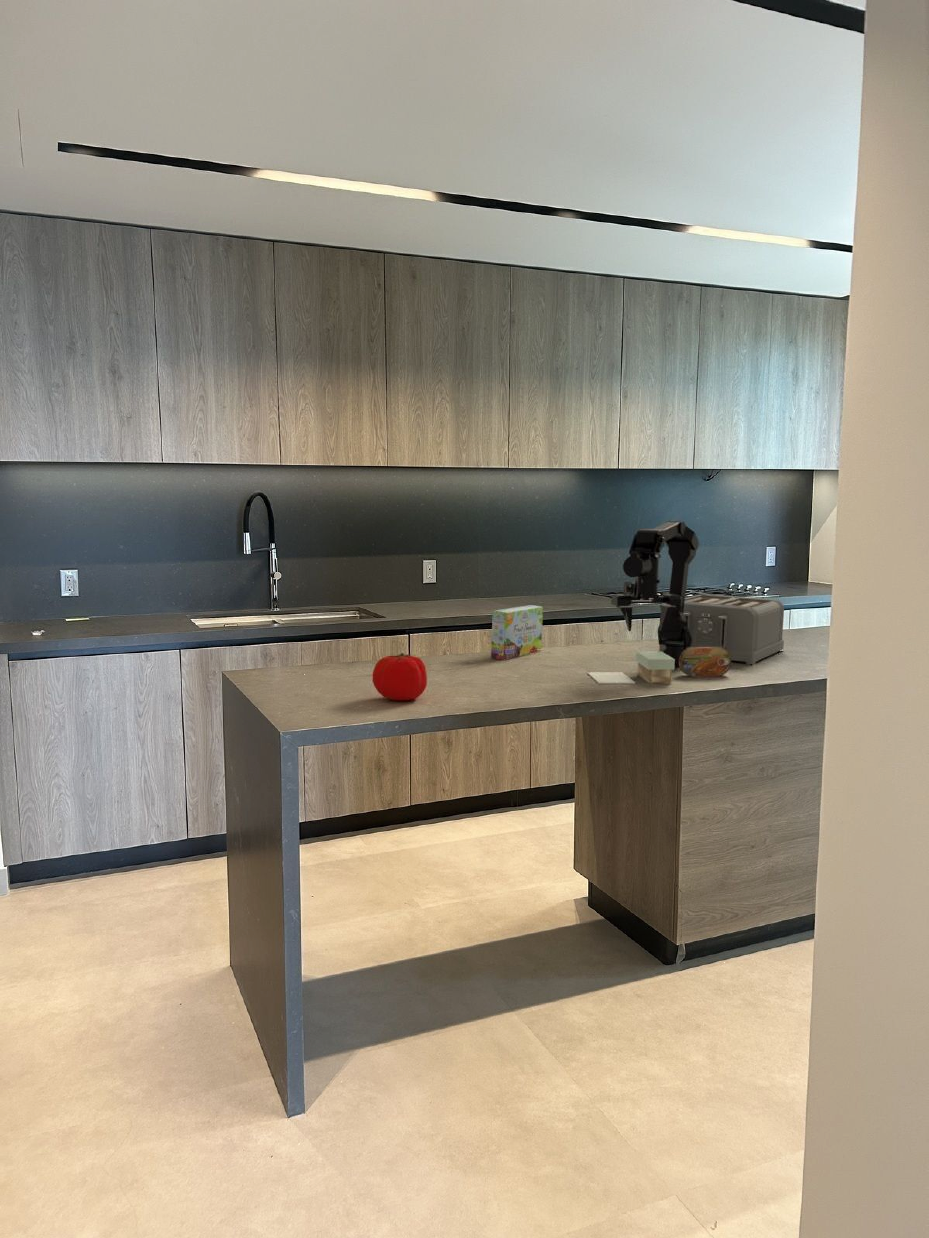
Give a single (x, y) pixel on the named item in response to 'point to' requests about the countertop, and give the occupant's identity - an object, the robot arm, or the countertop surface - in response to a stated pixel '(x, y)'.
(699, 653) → the tin
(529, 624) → the snack box
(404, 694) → the tomato
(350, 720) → the countertop surface
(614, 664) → the countertop surface
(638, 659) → the pale green block
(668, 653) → the robot arm
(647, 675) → the crate
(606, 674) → the mat
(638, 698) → the countertop surface
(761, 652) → the toaster
